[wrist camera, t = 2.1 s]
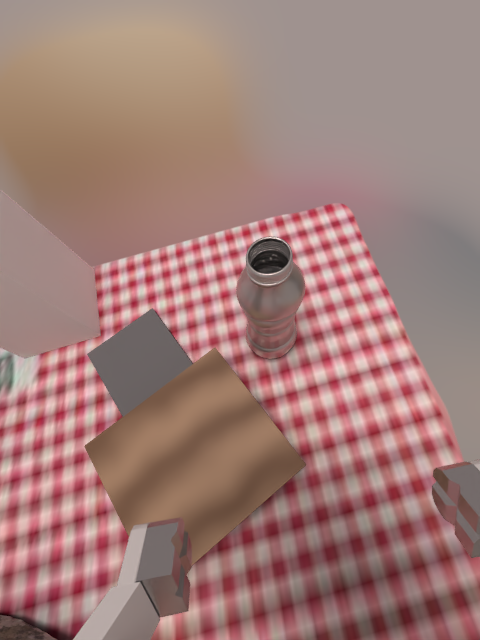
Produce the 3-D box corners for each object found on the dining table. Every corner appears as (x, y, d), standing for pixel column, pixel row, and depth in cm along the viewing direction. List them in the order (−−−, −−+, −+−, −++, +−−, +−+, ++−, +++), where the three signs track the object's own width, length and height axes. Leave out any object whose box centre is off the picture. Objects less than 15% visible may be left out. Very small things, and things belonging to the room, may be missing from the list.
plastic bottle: (237, 339, 43) (209, 257, 25) (272, 308, 44) (271, 208, 26) (269, 372, 41) (265, 310, 22) (306, 339, 42) (330, 253, 24)
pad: (195, 366, 42) (193, 365, 41) (126, 419, 40) (123, 418, 40) (154, 310, 46) (152, 308, 45) (90, 355, 44) (87, 354, 44)
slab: (301, 462, 36) (306, 464, 31) (175, 573, 33) (157, 595, 28) (222, 359, 42) (215, 347, 37) (108, 446, 39) (84, 446, 34)
